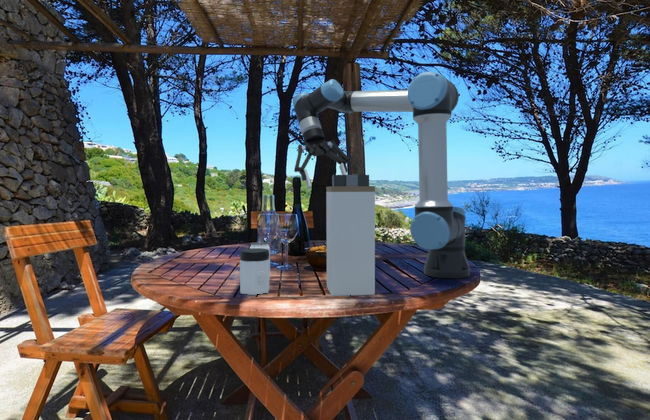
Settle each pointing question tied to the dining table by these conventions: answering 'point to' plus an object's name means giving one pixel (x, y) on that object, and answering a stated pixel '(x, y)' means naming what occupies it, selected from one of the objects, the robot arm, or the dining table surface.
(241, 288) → the jar
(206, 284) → the dining table surface
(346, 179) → the t handle
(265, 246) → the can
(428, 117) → the robot arm
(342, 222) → the stand
